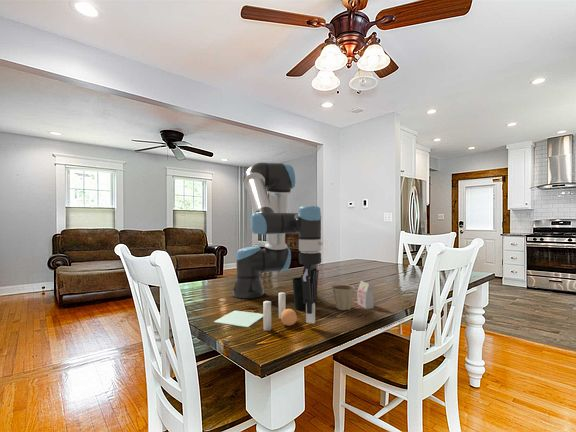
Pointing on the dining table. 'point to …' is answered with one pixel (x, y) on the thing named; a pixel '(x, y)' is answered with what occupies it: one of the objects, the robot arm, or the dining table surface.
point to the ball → (288, 317)
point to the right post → (282, 303)
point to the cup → (298, 294)
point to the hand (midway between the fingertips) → (310, 322)
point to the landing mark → (240, 318)
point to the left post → (267, 315)
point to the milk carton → (365, 296)
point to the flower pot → (343, 296)
